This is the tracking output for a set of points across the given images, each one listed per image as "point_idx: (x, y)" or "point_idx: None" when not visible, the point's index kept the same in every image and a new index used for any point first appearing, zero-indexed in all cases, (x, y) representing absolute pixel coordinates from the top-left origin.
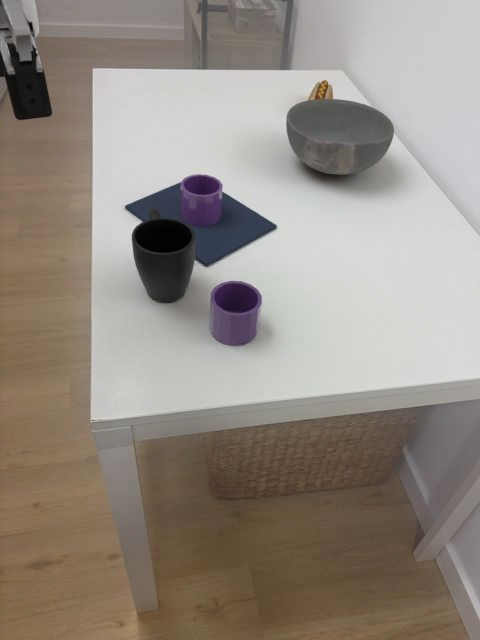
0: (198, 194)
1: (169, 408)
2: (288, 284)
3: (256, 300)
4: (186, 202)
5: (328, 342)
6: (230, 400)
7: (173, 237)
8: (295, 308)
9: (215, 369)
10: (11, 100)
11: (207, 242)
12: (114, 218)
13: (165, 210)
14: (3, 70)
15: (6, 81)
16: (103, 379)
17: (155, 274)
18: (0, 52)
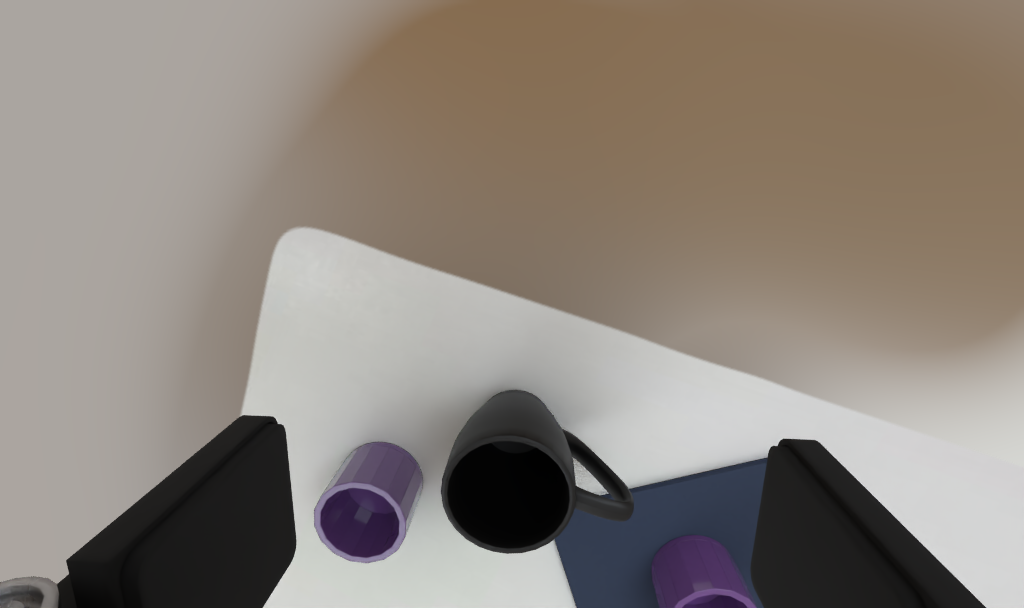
0: (735, 599)
1: (260, 321)
2: (445, 600)
3: (359, 546)
4: (695, 571)
5: (302, 582)
6: (245, 406)
7: (551, 504)
8: (388, 580)
9: (310, 414)
10: (194, 459)
11: (604, 541)
12: (775, 419)
13: (742, 518)
14: (779, 498)
15: (112, 524)
16: (351, 251)
17: (463, 429)
18: (824, 576)
